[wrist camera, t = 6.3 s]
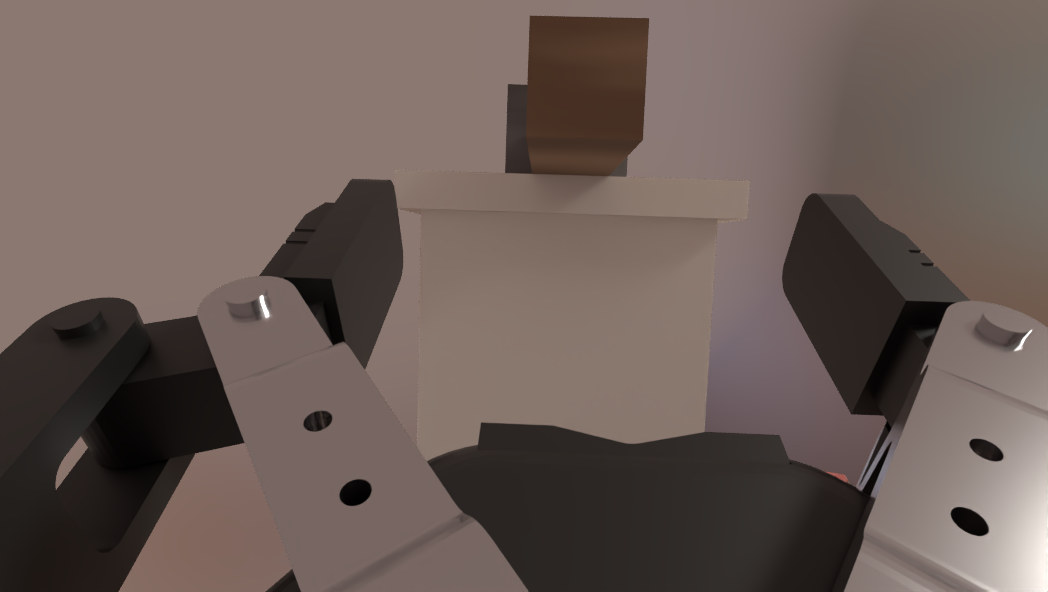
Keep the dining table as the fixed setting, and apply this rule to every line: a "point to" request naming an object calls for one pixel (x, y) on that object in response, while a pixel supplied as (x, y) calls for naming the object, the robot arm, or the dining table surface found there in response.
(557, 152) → the hammer
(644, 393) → the pedestal
